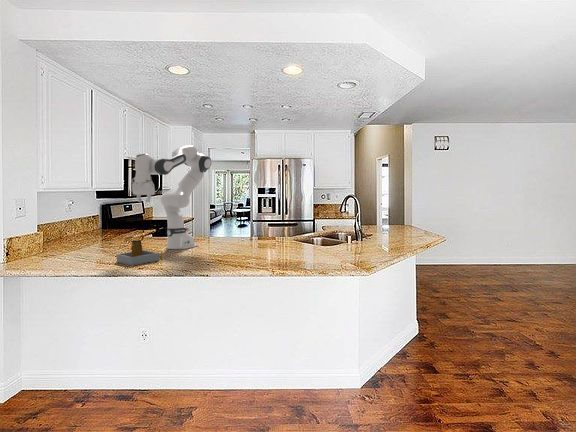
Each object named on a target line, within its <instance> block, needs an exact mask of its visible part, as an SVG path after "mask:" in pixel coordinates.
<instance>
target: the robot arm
mask: <svg viewBox="0 0 576 432" xmlns="http://www.w3.org/2000/svg"><path fill="white" fill-rule="evenodd" d="M183 164H184V165H186V166H187V167H190V170H189V171H188V172H187V173H186V174H185V175H184V177H182V179H181V180H180V181H179V182H178V188H177V190H176V191H173V192H172V191H170V192H169V191H168V192H165V193H163V194H162V195H161V197H160V202H161V205H162V206H163V207H164V211H165V214H166V220H167V228H166V235H167V238H166V239H167V240H166V247H165V249H166V250H167V249H168V250H186V249H191V248H194V247H198V246H199V245H198V243H196V242H195V238H194V237H193V236H192V235H190V234H189V233H188V231H189V230H190V229H189V227H185V224H184V223H185V222H184V221H185V220H184V219H185V218H184V215H183V213H182V212H181V209H184V208H186V207H188V206H189V204H190V197H191V195H192V193H193V192H194V191H195V189H197V187H198V185H199V184H200V183H201V181H202V179H203V178H204V173H206V172H207V171H208V170H209V169H210V168H211V165H212V159H211V157H209V156H208V155H206V154H203V153H199V152H198V149H197V148H196V147H195V146H194V145H191V144H189V145H183V146H181V147H178V148H175V149H174V150H173V151H172V152H171V157H170V158H157V159H155V158H153V157H151V156H150V155H149V154H148V153H140V154H139V153H138V154H137V155H136V156H135V159H134V168H135V177H133V178H132V179H131V183H132V184H131V188H132V189H131V191H132V194H133V195H136V198H137V202H139V203H142V202H143V200H142V199H143V198H141V196H142V195H143V196H145V195H146V199H145V201H146V203H150V202H151V198H152V196H155V195H156V188H155V184H154V182H153V180H152V179H151V175H152V176H153V175H161V176H163V175H164V176H167V175H169V174H170V173H171V172H172V171H173V169H175V168H176V167H179V166H181V165H183Z"/></svg>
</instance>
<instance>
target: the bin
mask: <svg viewBox="0 0 576 432" xmlns="http://www.w3.org/2000/svg"><path fill="white" fill-rule="evenodd" d="M142 253H143V255H142V256H136V257H132V251H130V252H123V253H117V254H116V263H117V262H118V263H119V264H123V265H126V264H127V266H130V265H131V267H133V265H134V266H139V265H138V264H140V265H143V264H142V263H145V264H149V263H148V262H151V263H155V261H157V262H160V252H155V251H149V250H146V249H142Z"/></svg>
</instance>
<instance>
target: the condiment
mask: <svg viewBox="0 0 576 432" xmlns="http://www.w3.org/2000/svg"><path fill="white" fill-rule="evenodd" d="M130 246H131V247H130V248H131V249H130V250H131V252H132V257H136V256H142V255H143V253H142V250H143V244H142V240H141V239H133V240H131V245H130Z"/></svg>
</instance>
